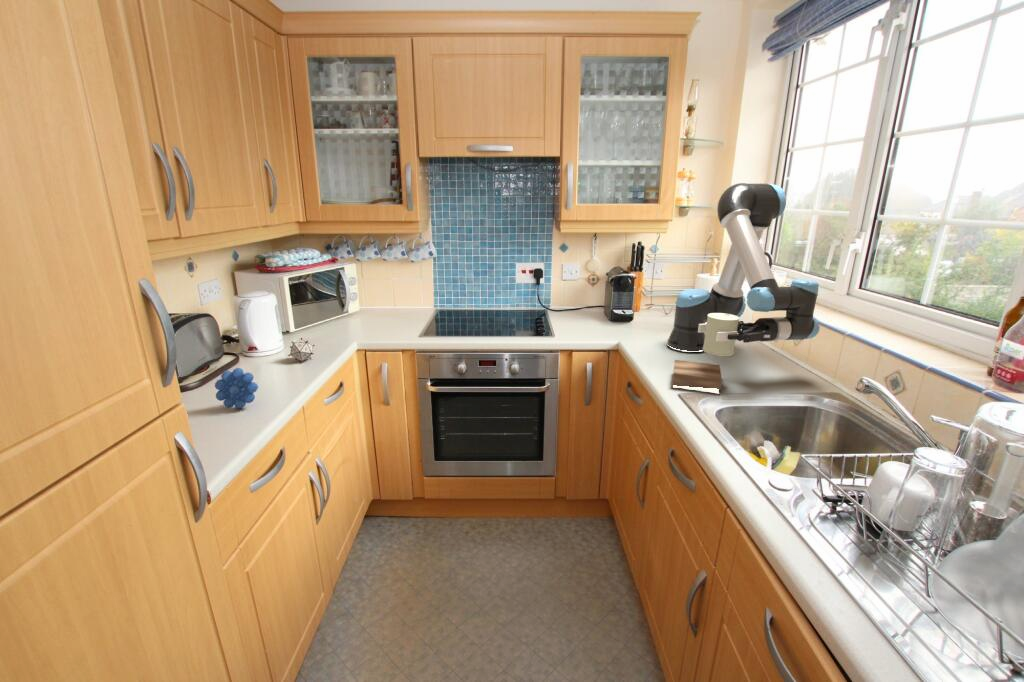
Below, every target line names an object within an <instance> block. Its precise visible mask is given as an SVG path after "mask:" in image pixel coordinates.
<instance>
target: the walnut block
mask: <svg viewBox="0 0 1024 682" xmlns="http://www.w3.org/2000/svg"><path fill="white" fill-rule="evenodd" d="M672 383H673V384H672V385H677V386H689V387H703V388H717V389H721V388H722V383H723V376H722V371H721V366H720V364H713V363H706V362H696V361H688V360H680V359H675V360H674V366H673V372H672ZM672 385H671V386H672ZM721 390H722V389H721Z"/></svg>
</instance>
